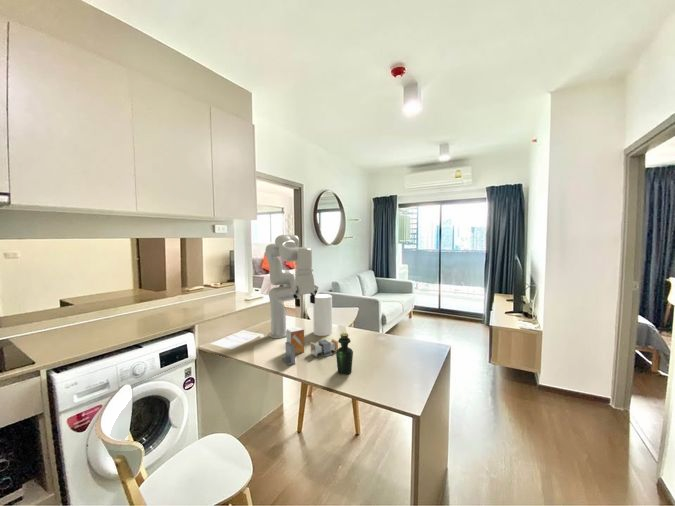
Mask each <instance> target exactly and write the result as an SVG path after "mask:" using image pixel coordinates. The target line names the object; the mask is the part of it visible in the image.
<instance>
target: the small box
mask: <svg viewBox="0 0 675 506" xmlns="http://www.w3.org/2000/svg"><path fill="white" fill-rule="evenodd" d="M286 331H287V336H286V342H290V343H291V344H292V345H294V346H295V355H298V354H302V353H305V329H304V328H302V327H301V326H295V327H290V328H286Z"/></svg>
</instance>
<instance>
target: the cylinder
mask: <svg viewBox="0 0 675 506" xmlns="http://www.w3.org/2000/svg"><path fill="white" fill-rule="evenodd" d="M312 305H313V306H312V307H313V308H312V309H313V312H312V315H313V318H312V319H313V334H314V335H315V336H319V337H326V336H330V335H332V334H333V296H332V295H331V294H330V293H329V294H328V293H319V294H317V293H316V296H315V304H313V303H312Z"/></svg>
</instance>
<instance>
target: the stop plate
mask: <svg viewBox="0 0 675 506" xmlns="http://www.w3.org/2000/svg"><path fill="white" fill-rule="evenodd" d="M281 360H282V362H284V363H285V365H286V366H288V367H289V366H292V365H295V364H296V354H295V346H294V345H292V344H291V343H290V342H287V341H286V342H285V357H282V358H281Z"/></svg>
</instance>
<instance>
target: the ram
mask: <svg viewBox="0 0 675 506" xmlns="http://www.w3.org/2000/svg"><path fill="white" fill-rule="evenodd" d="M329 342H330V350H331V351H333V350H334V351H335V352H336V351H337V349H338V348H339V342H338V341H337V340H336V339H333V338H331V341H329ZM322 352H323V345H321V344H315V343H314V342H312V341H310V354H311V355H312V356H314V357H315V358H316V357H318V354H320V353H322Z"/></svg>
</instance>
